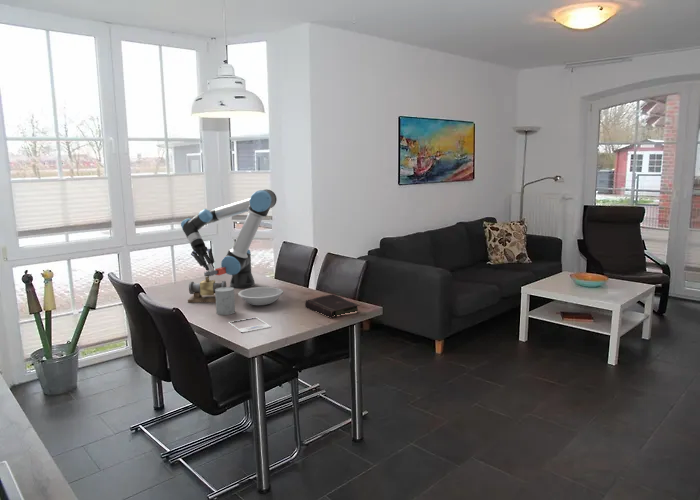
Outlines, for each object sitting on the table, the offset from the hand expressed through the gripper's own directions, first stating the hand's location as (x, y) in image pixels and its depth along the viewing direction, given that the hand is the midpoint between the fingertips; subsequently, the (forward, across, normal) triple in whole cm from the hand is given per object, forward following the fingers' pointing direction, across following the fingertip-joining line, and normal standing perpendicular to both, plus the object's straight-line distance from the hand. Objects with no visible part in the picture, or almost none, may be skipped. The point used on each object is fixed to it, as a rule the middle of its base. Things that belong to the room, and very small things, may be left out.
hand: (213, 274), depth 296 cm
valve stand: (+13, +7, -6) cm, 15 cm away
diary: (+59, -26, +42) cm, 77 cm away
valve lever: (+2, 0, +2) cm, 3 cm away
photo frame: (+51, +18, +34) cm, 64 cm away
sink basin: (+33, -8, +15) cm, 37 cm away
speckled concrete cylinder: (+32, +14, +15) cm, 38 cm away
